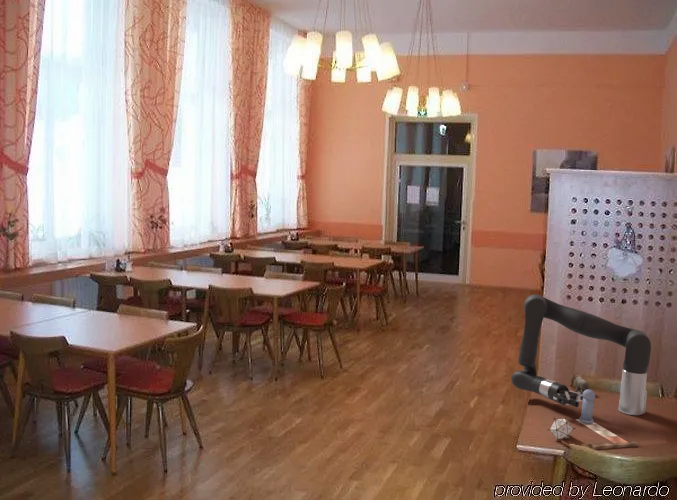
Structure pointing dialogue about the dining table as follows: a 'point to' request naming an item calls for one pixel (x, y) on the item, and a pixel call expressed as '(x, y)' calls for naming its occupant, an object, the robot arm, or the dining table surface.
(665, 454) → the dining table surface
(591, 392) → the pawn
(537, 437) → the dining table surface
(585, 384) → the rhino figurine
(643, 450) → the dining table surface
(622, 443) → the game board
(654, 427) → the dining table surface
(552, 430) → the game die
